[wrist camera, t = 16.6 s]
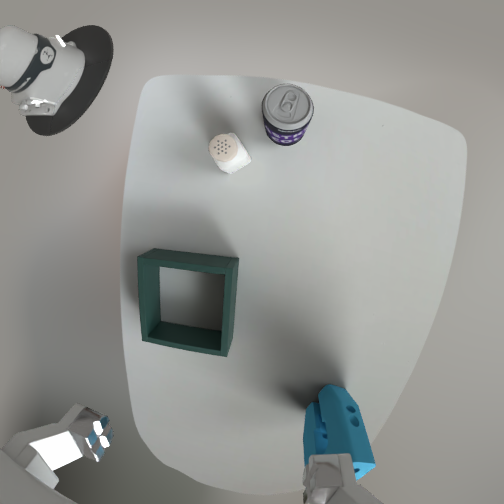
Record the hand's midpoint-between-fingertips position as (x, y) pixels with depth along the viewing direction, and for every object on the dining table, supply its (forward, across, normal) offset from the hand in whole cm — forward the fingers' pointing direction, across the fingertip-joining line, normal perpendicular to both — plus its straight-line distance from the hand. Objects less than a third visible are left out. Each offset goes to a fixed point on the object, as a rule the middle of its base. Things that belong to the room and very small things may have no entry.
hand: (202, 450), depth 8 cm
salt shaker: (+34, +5, -14) cm, 37 cm away
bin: (+34, +10, +8) cm, 36 cm away
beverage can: (+34, -2, -19) cm, 39 cm away
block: (+34, -16, +28) cm, 47 cm away
